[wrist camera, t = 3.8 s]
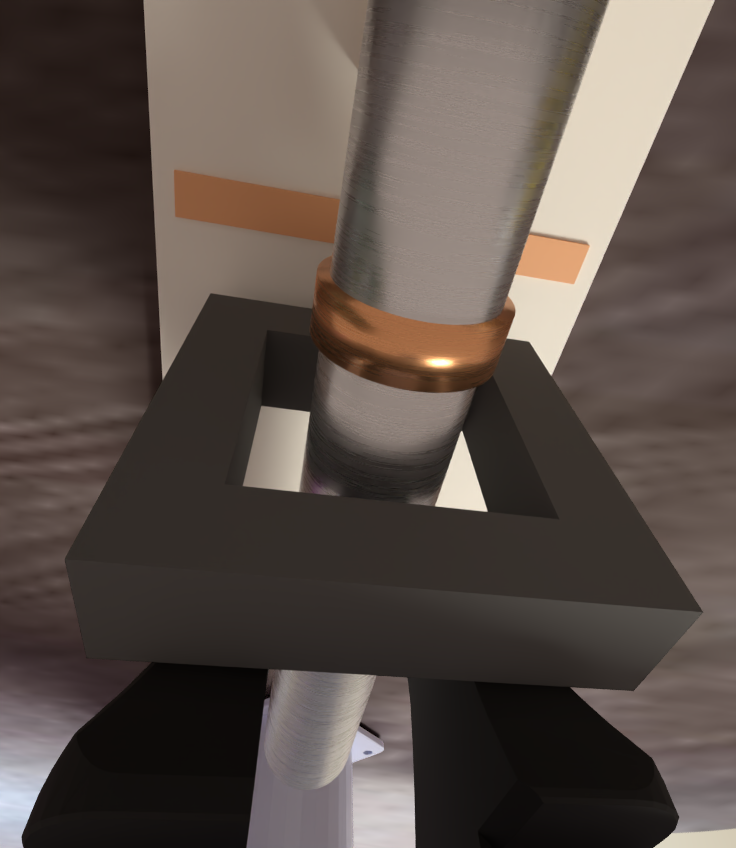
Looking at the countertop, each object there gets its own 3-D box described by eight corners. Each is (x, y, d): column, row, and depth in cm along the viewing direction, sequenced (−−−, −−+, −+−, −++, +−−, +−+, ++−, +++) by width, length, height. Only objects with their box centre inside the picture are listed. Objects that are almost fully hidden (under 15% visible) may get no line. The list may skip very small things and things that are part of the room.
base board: (436, 611, 23) (440, 634, 22) (180, 592, 22) (173, 615, 21) (701, -31, 11) (734, -38, 10) (151, -178, 9) (131, -201, 9)
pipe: (355, 694, 19) (357, 799, 16) (263, 689, 18) (250, 796, 16) (588, -45, 7) (723, -98, 5) (364, -104, 7) (376, -197, 4)
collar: (504, 406, 15) (633, 691, 8) (209, 366, 14) (86, 657, 7) (529, 341, 14) (702, 612, 7) (210, 293, 12) (65, 559, 6)
